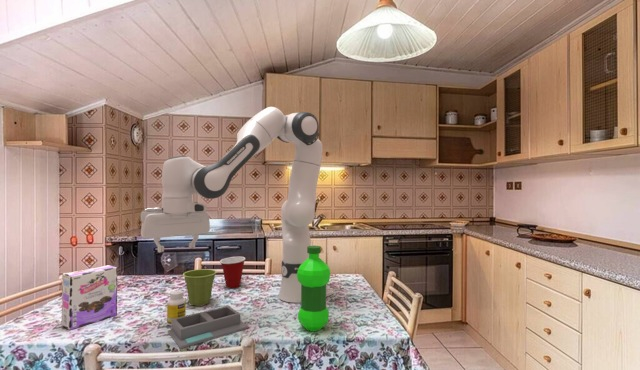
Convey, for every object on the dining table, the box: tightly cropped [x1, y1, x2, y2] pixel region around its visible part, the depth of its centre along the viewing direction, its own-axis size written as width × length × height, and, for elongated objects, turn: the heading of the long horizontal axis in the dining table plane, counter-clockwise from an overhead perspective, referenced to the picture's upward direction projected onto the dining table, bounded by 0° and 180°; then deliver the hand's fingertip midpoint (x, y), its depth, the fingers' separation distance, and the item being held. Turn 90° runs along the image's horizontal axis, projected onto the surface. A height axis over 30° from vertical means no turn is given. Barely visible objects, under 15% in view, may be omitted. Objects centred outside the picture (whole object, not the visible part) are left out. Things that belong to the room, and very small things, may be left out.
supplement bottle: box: [166, 289, 187, 327], centre depth 105 cm, size 5×5×10 cm
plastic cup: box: [219, 256, 246, 289], centre depth 142 cm, size 11×11×12 cm
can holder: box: [167, 305, 250, 349], centre depth 99 cm, size 20×12×4 cm, turn 130°
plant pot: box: [182, 268, 218, 307], centre depth 122 cm, size 12×12×11 cm
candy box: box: [61, 264, 118, 330], centre depth 106 cm, size 14×6×16 cm, turn 148°
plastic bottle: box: [297, 245, 331, 332], centre depth 102 cm, size 10×10×25 cm
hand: (176, 250), depth 105 cm, fingers open, 8 cm apart
